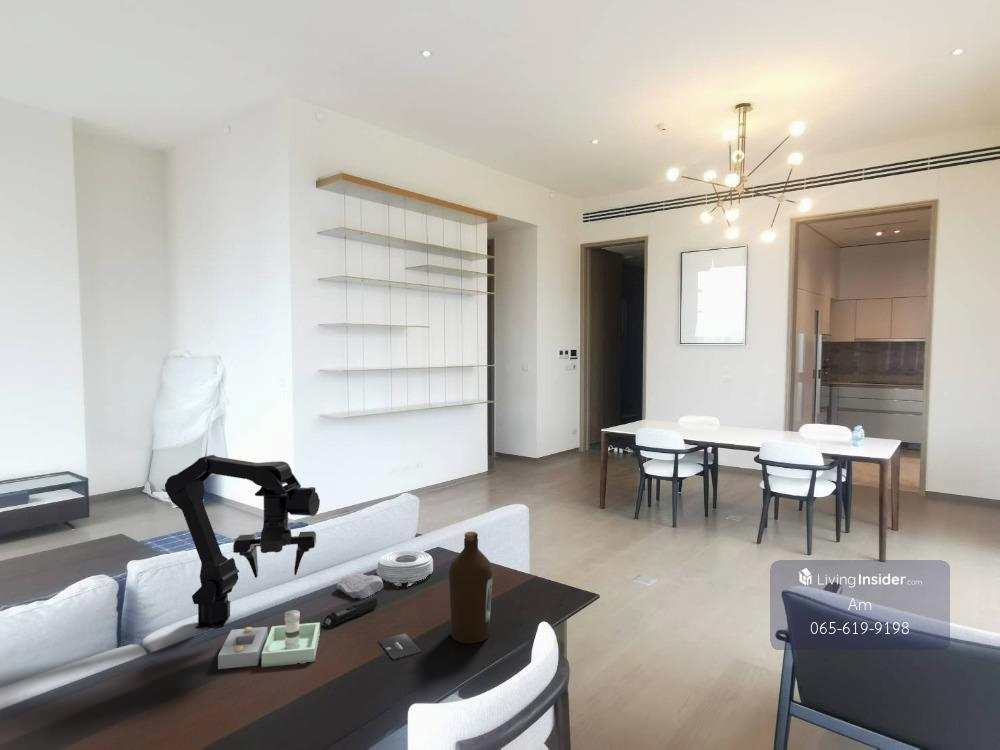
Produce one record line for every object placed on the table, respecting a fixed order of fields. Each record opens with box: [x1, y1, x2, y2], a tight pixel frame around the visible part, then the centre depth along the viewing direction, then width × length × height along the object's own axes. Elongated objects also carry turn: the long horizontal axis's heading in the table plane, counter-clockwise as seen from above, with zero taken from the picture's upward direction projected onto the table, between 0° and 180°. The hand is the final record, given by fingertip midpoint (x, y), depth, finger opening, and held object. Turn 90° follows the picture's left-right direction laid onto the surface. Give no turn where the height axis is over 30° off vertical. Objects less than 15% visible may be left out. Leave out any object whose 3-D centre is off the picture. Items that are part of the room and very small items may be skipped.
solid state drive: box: [377, 633, 422, 661], centre depth 136 cm, size 7×10×1 cm
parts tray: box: [261, 622, 321, 668], centre depth 134 cm, size 11×13×3 cm
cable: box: [376, 549, 434, 588], centre depth 180 cm, size 18×18×6 cm
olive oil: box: [448, 531, 494, 644], centre depth 142 cm, size 11×11×25 cm
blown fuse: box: [284, 609, 301, 650], centre depth 133 cm, size 3×3×8 cm
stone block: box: [336, 571, 384, 599], centre depth 168 cm, size 12×5×10 cm
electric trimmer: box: [322, 597, 378, 629], centre depth 151 cm, size 4×16×3 cm, turn 140°
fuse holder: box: [217, 626, 269, 670], centre depth 132 cm, size 8×12×4 cm, turn 12°
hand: (276, 575), depth 144 cm, fingers open, 9 cm apart
